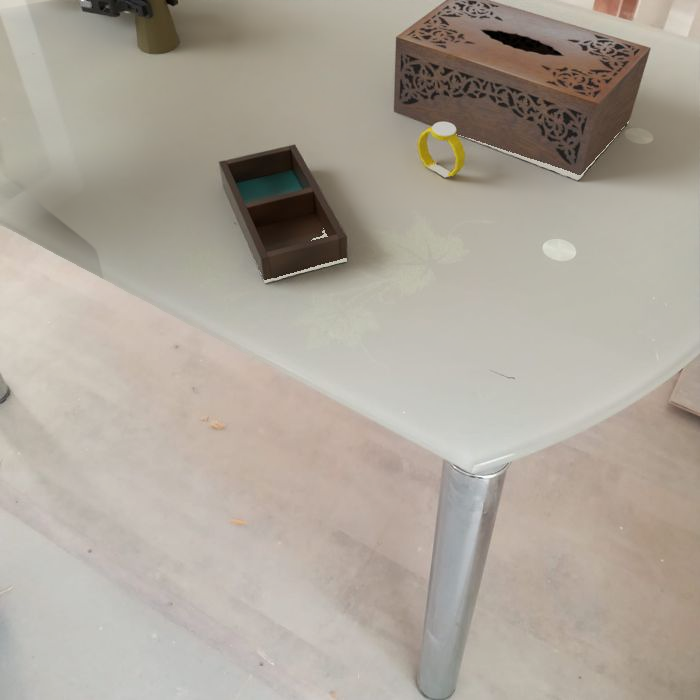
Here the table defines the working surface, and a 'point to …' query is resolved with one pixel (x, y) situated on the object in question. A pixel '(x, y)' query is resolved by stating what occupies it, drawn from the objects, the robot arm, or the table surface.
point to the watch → (444, 133)
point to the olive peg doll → (157, 30)
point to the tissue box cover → (518, 80)
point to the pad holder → (282, 211)
